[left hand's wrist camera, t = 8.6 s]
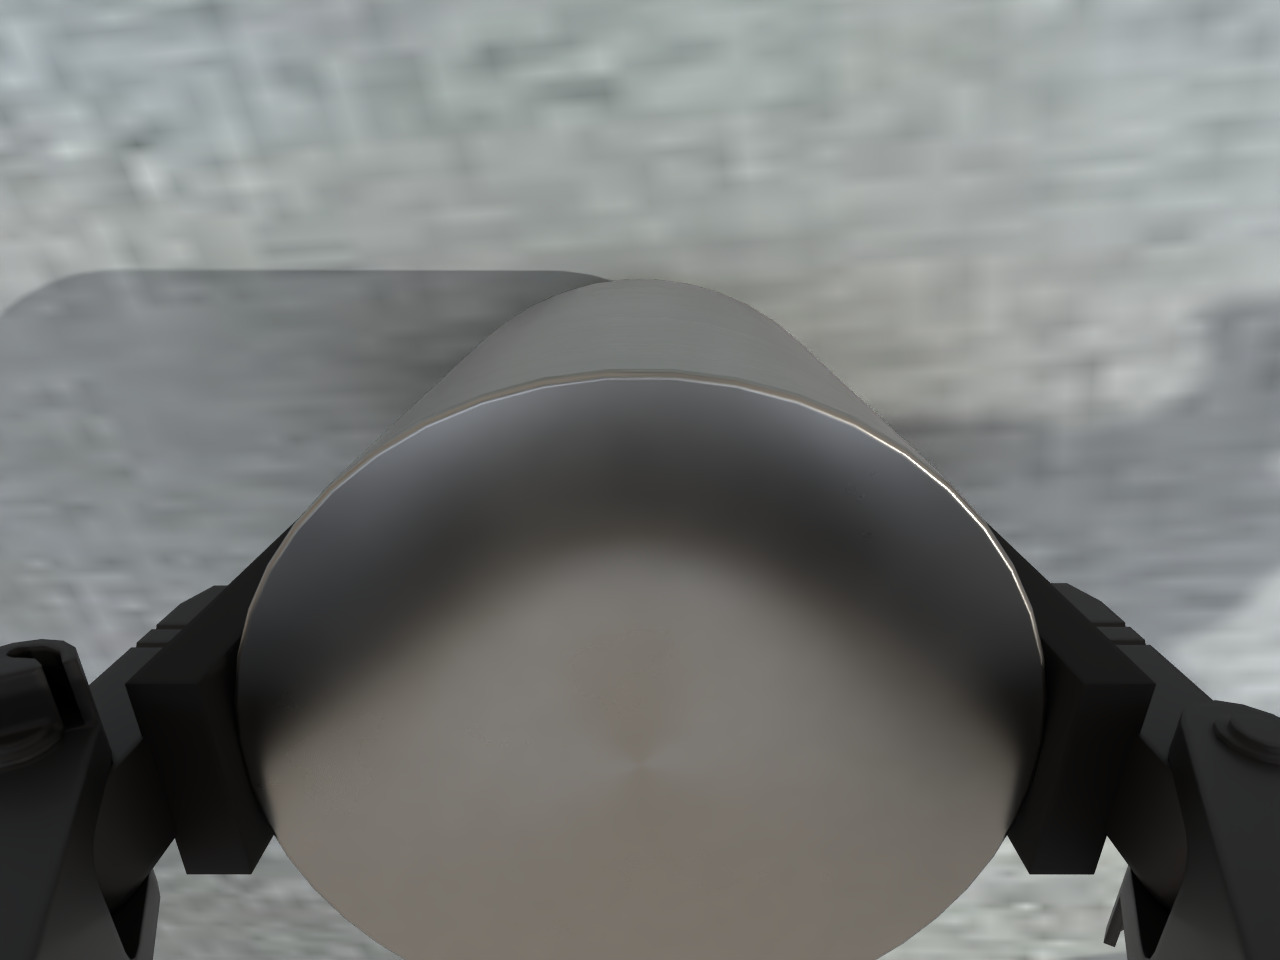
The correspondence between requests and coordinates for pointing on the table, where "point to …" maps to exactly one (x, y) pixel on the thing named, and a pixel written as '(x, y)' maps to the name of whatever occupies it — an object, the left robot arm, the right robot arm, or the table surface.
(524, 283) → the table surface
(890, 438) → the canister
